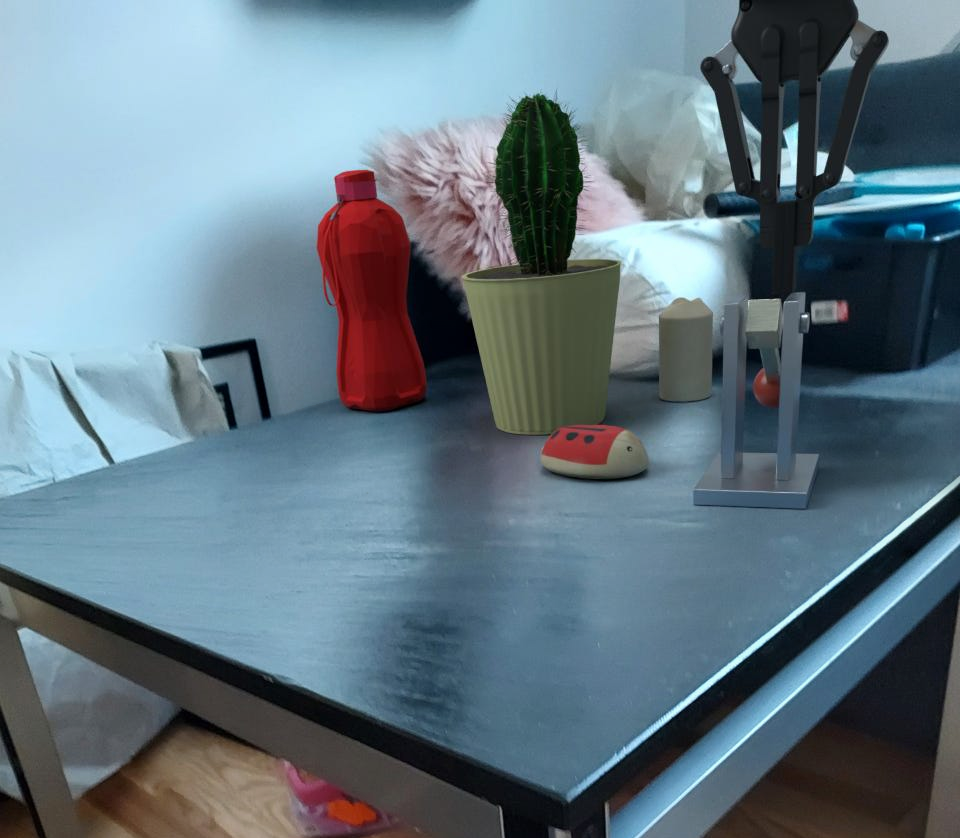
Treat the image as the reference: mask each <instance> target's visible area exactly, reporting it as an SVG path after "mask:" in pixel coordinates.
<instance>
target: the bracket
mask: <svg viewBox="0 0 960 838" xmlns="http://www.w3.org/2000/svg"><path fill="white" fill-rule="evenodd" d="M748 301H749V294H734V295H733V296H732V297H731V298H730V299H729V300H727V301H726V302H725V303H724V306H723V315H722V316H721V318H720V324H719V332H720V336H722V337H723V346H722V347H723V349H722V351H723V353H722V355H723V356H722V389H721V390H722V394H721V397H722V399H721V400H722V401H721V440H720V451H717V452H716V453H715V455H714V457H713V458H712V460H711V461H710V463H709V465H708V466H707V468H706V469H705V471H704V473H702V475H701V477H700V479H699V480H698V481H697V483H696V485H695V486H694V488H693V491H692V492H693V493H692V495H693V496H692V497H693V498H692V504H693V505H694V506H695V505H696V506H717V507H719V506H720V507H741V508H742V507H745V508H766V509H767V508H770V509H771V508H772V509H792V510H793V509H795V510H796V509H797V510H798V509H799V510H806V509H807V506H808V503H809V500H810V496H811V494H812V490H813V488H814V483H815V480H816V477H817V474H818V471H819V465H820V454H819V453H797V449H798V448H797V447H798V428H799V413H800V395H801V377H802V360H803V343H804V334H808V333H809V329H810V312H808V311H807V312H805V309H806V307H805V306H806V292H805V291H800V292H799V291H797V292H793V293H791V294H788V296H787V298H786V299H785V301H784V302H783V325H782V334H781V356H780V363H781V374H780V395H779V408H778V416H777V417H778V419H777V437H776V438H777V439H776V452H744V436H745V406H746V405H745V403H746V376H747V375H746V374H747V373H746V372H747V347H748V343H747V339H746V334H745V326H746V317H747V309H748Z"/></svg>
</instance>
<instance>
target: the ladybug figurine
mask: <svg viewBox="0 0 960 838" xmlns="http://www.w3.org/2000/svg"><path fill="white" fill-rule="evenodd" d="M540 450H541V451H540V452H541V453H540V464H541V465H542V466H543V467H544V468H545V469H546V470H548V471H550V472H552V473H554V474H558V475H560V476H561V475H562V476H566V477H572V478H579V479H587V480H588V479H590V480H591V479H592V480H612V479H613V480H614V479H623V478H628V477H631V476H635V475H638V474H640V473H642V472H643V471H644V470H646V469H647V468H648V467H649V464H650V459H649V455H648V451H647V450H646V448H645V446H644V445H643V442H642V441H641V439H639V437H637V436H636V435H635V434H634V433H632V432H631V431H630V430H628V429H626V428H623V427H619V426H614V425H607V424H605V425H604V424H597V425H595V424H593V425H572V426H565V427H561V428H559V429H557V430H556V431H555V432H553V433H552V434H549V437H548V438H547V440H546V441H545V443H544V445H543V446H542V448H541V449H540Z"/></svg>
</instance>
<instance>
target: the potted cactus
mask: <svg viewBox="0 0 960 838" xmlns="http://www.w3.org/2000/svg"><path fill="white" fill-rule="evenodd" d="M558 88H559V87H556V90H555V93H554V96H553V100H552V99H549V97H548V96H547V93H545V94H542V91H543V90H542V88H541V90H540V92H537V93H535V94H533V95H527V93H526V92H524V93H523V94H524V95H525V96H524V97H522V96H521V98H520V100H519V102H517V101H516V100H515V99H514V100H513V98H510V99H511V101H512V102H513V103H512V105H514V106H513V109H514V110H512V107H511V106H510V104H509V103H506V105H508V106H507V107H506V110H507V111H508V113H507V112H505V113H503V116H505V117H506V118H505V117H503V121H504V122H501V123H502V125H503V126H504V128H502V129H503V131H504V132H503V133H502V134H501V133H499V135H500V136H501V139H500V140H499V141H498V144H497V146H496V148H495V147H493V146H487V145H486V147H488V148H491V149H493V150H495V151H496V152H497V155H496V157H495V156H493V159H492V160H493V161H495V163H494V162H490V161H489V162H488V161H486V163H488V164H491V165H494V166H493V169H494V170H491V173H494V174H495V175H491V174H489V173H490V171H485V174H484V172H482V173H481V175H484V176H485V177H487V179H489V180H491V181H490V182H489V181H487V182H486V184H494V185H492V186H491V188H492V190H489V193H490V192H491V193H492V192H493V193H494V192H495V194H496V198H495V196H493V197H492V199H491V200H493V201H497V200H498V201H500V200H501V202H502V205H503V206H502V207H501V208H499V209H498V210H497V211H496V212H495V213H494V214H493V215H492V217H494V216H495V215H496V214H497V213H499V216H500V217H499V218H498V221H500V220H501V221H502V220H507V221H506V222H504V223H503V227H504V226H505V227H504V229H502V230H501V232H502V233H503V235H504V236H505V235H506V236H505V237H504V238H503V239H501V241H504V239H508V240H510V239H511V243H512V244H510V245H509V246H507V247H506V249H507V248H508V249H510V248H513V250H512V251H511V252H509V253H508V255H509V254H511V253H513V252H514V254H515V256H516V257H514V258H512V259H511V260H508V261H507V262H506V264H507V263H510V262H511V263H510V264H509V265H504V266H496V267H495V266H494V267H489V268H483V269H479V270H474V271H470V272H467V273H465V274H462V275H461V280H463V282H464V289H465V290H464V291H465V295H466V300H467V303H468V308H469V313H470V318H471V321H472V325H473V329H474V334H475V339H476V343H477V347H478V352H479V356H480V357H479V358H480V361H481V365H482V370H483V374H484V378H485V382H486V388H487V392H488V396H489V397H488V398H489V401H490V405H491V406H490V407H491V410H492V414H493V420H494V423H495V425H496V428H497V429H498V430H500V431H502V432H505V433H509V434H514V435H527V436H542V435H543V436H544V435H545V436H546V435H551V434H552V433H553V432H555V431H556V430H557V429H559V428H561V427H565V426H572V425H593V424H595V425H600V423H602V422H603V421H604V419H605V416H606V410H607V402H608V401H607V399H608V391H609V382H610V373H611V362H612V355H613V346H614V338H615V337H614V336H615V327H616V319H617V310H618V309H617V308H618V300H619V292H620V284H621V265H622V261H620V260H618V259H610V258H609V259H608V258H583V259H582V258H580V259H578V258H577V259H570V257H571V256H574V252H575V253H577V251H576V249H575V248H574V246H573V245H574V244H577V242H575V239H576V235H580V236H584V234H583V233H580V234H579V233H576V231H578V232H579V231H580V232H582V231H583V230H584V225H583V224H580V225H579V224H578V226H579V227H578V226H577V221H580V218H578V215H579V214H578V211H579V213H581V212H582V211H583V212H584V211H586V212H587V210H586V209H583V208H580V207H578V205H580V204H581V202H579V197H580V198H581V201H584V199H583V198H582V195H580V194H582V193H584V195H586V196H588V195H587V194H586V193H585V192H583V190H584V191H586V192H589V190H588V189H586V188H590V185H589V186H587V185H584V183H586V184H593V183H595V181H594V180H585V179H590V177H592V174H590V175H588V176H587V173H588V172H589V171H590V170H588V169H587V166H585V163H583V162H582V160H584V157H581V156H582V155H584V154H582V153H583V152H585V150H584V149H586V147H587V144H584V145H582V147H581V148H579V143H580V144H581V143H582V142H586V141H587V139H586V140H585V139H582V140H578V139H579V138H581V136H578V135H577V133H576V132H577V131H578V130H579V129H581V126H579V122H577V123H575V124H574V125H573V126H572V123H574V120H573V119H574V118H575V117H576V116H577V115H576V114H574V113H575V112H576V111H577V110H578V108H576V109H574V111H573V108H574V107H572V108H571V110H570V112H568V109H569V106H568V103H567V104H566V103H565V105H564V106H563V107H561V101H558ZM517 95H518V97H520V96H519V94H517ZM507 96H509V94H507ZM530 96H531V97H530ZM567 100H568V99H567ZM567 100H566V101H565V100H564V101H565V102H567ZM564 101H562V103H563V102H564ZM571 101H572V100H571ZM571 101H569V103H571ZM566 106H567V107H566ZM562 109H564V110H563V111H562ZM565 109H566V110H565ZM510 114H511V115H510ZM573 114H574V115H573ZM500 115H502V112H500ZM572 115H573V116H572ZM498 119H499V118H498ZM499 120H500V119H499ZM584 137H585V136H584V135H583V136H582V138H584ZM495 140H498V139H497V138H495ZM580 150H584V151H581V152H580ZM580 164H581V165H583V166H585V167H584V168H583V169H582V170H581V169H580ZM490 169H492V167H490ZM587 171H588V172H587ZM486 174H487V175H486ZM488 175H489V176H488ZM584 180H585V181H584ZM494 187H495V188H494ZM493 198H494V199H493ZM500 210H501V211H500ZM580 210H581V211H580ZM500 214H501V215H500ZM501 217H503V218H501ZM581 221H583V222H586V220H584V219H581ZM586 230H588V229H586ZM588 231H589V230H588ZM510 236H511V237H510ZM572 252H573V253H572ZM513 260H515V261H513Z"/></svg>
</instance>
